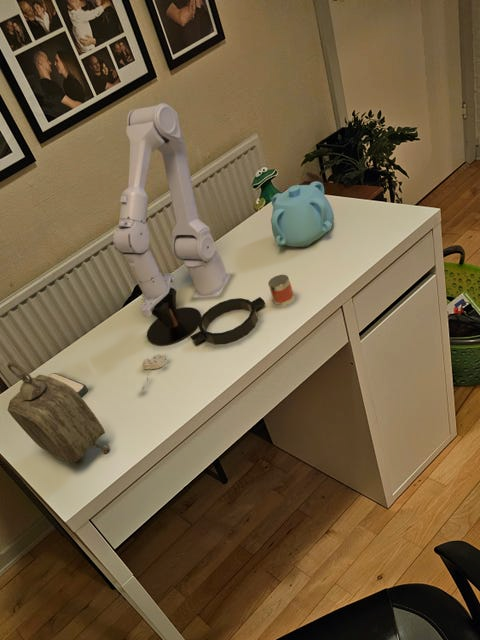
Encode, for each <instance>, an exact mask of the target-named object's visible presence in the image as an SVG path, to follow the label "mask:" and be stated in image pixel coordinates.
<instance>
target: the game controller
mask: <svg viewBox="0 0 480 640" xmlns="http://www.w3.org/2000/svg"><path fill="white" fill-rule="evenodd" d="M167 362H168V361H167V358H166V356H161V354H159V353H158V354H156V355H153V357H152V358H151V360H150V358H145V359H144V360H143V361H142V363H141V365H142V367H143V370H150V371H149V372H147V376H146V382H148V379H149V378H148V376H149V374H150V372H152V371H153V370H156V369H161V368H163V367H164V366H166V364H167ZM143 389H144V388H142V389H141V391H143Z"/></svg>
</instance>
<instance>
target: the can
mask: <svg viewBox="0 0 480 640" xmlns="http://www.w3.org/2000/svg"><path fill="white" fill-rule="evenodd" d="M267 284H268V288H269V291H270V294H271V298H272V300H273V303H274V304H275V305H276V306H277V307H285V306H288V305H290V304H291V303H292V302H293V301H294V300H295V294H294V290H293V287H292V285H291V281H290V278H289V276H288V275H287V274H277V275H274V276H273V277H271V278H270V279H269V281H268V282H267Z"/></svg>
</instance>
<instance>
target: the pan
mask: <svg viewBox="0 0 480 640" xmlns="http://www.w3.org/2000/svg"><path fill="white" fill-rule="evenodd" d="M265 305H266V302H265V300H264V299H263V298H261V297H260V296H259V297H257V298H256V299H254V300H252V301H251V300H250V299H247V298H242V297H237V298H229V299H227V300H224V301H220V302H218V303H217V304H215V305H213V306H212V307H210V308H209V309H208V310H206V312H204V313H203V314H202V315H201V316H202V317H201V319H200V321H199V327H198V329H199V331H198V332H195V333H193V334H191V335H190V339H191V341H192V342H193V344H195V345H196V344H198V343H200V342H202V341H206V343H208V344H212V345H215V346H217V345H218V346H219V345H228V344H231V343H234V342H238V341H239V340H241V339H243V338H244V337H246V336H248V335H249V334H250V333H251V332H252V331H253V330H254V329H255V328H256V326H257V324H258V322H259V315H258V311H257V310H258V309H260V308H261V307H263V306H265ZM233 311H246V312H247V311H248V312H250V313H249V316H248V317H247V318H246V319H245V320H244V321H243V322H242V323H241V324H239V325H237V326H235V327H234V328H233V329H229V330H226V331H223V332H210V331H207V330H208V328H209V327H210V325H211V323H213V322H214V321H215V320H216V319H217V318H219V317H221V316H222V315H224V314H227V313H231V312H233Z"/></svg>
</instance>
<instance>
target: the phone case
mask: <svg viewBox="0 0 480 640" xmlns="http://www.w3.org/2000/svg"><path fill="white" fill-rule="evenodd" d="M47 376H48V377H51V378H54V379H56V380H58V381H61V382H63V383H65V384H67V385H68V386H70V387H72V388H73V389H74V390H75V391H76V392H77V393H78V394H79V396H80V397H81V398H82V397H83V396H84V395H85V394H86V393H87V392H88V387H87V386H86V384H84V383H82V382H79V381H77V380H74V379H71V378H69V377H66V376H64V375H62V374H59V373H56V372H53V373H50V374H49V375H47Z"/></svg>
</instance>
